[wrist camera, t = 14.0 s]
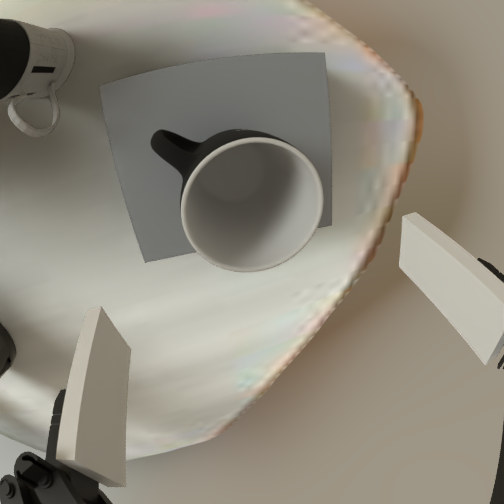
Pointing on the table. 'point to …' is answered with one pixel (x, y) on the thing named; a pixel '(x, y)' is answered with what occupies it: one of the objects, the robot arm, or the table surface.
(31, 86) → the glass holder
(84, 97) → the table surface
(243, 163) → the mug
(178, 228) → the large grey square box
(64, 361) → the table surface
